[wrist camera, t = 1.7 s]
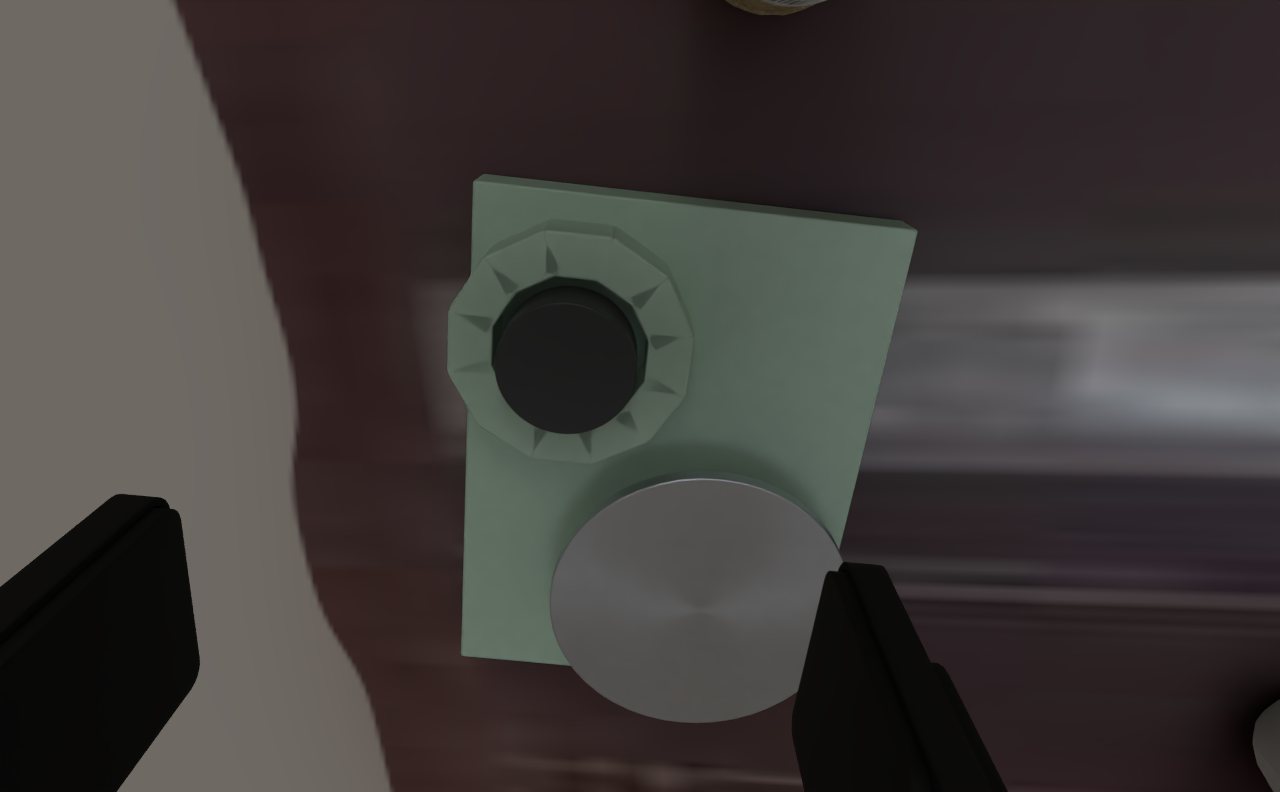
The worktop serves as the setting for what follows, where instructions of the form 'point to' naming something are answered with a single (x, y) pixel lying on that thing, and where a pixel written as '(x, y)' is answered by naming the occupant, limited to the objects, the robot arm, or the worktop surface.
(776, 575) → the platter
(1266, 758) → the soap bottle
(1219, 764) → the worktop surface
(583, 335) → the power button
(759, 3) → the sprinkles bottle
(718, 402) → the scale
